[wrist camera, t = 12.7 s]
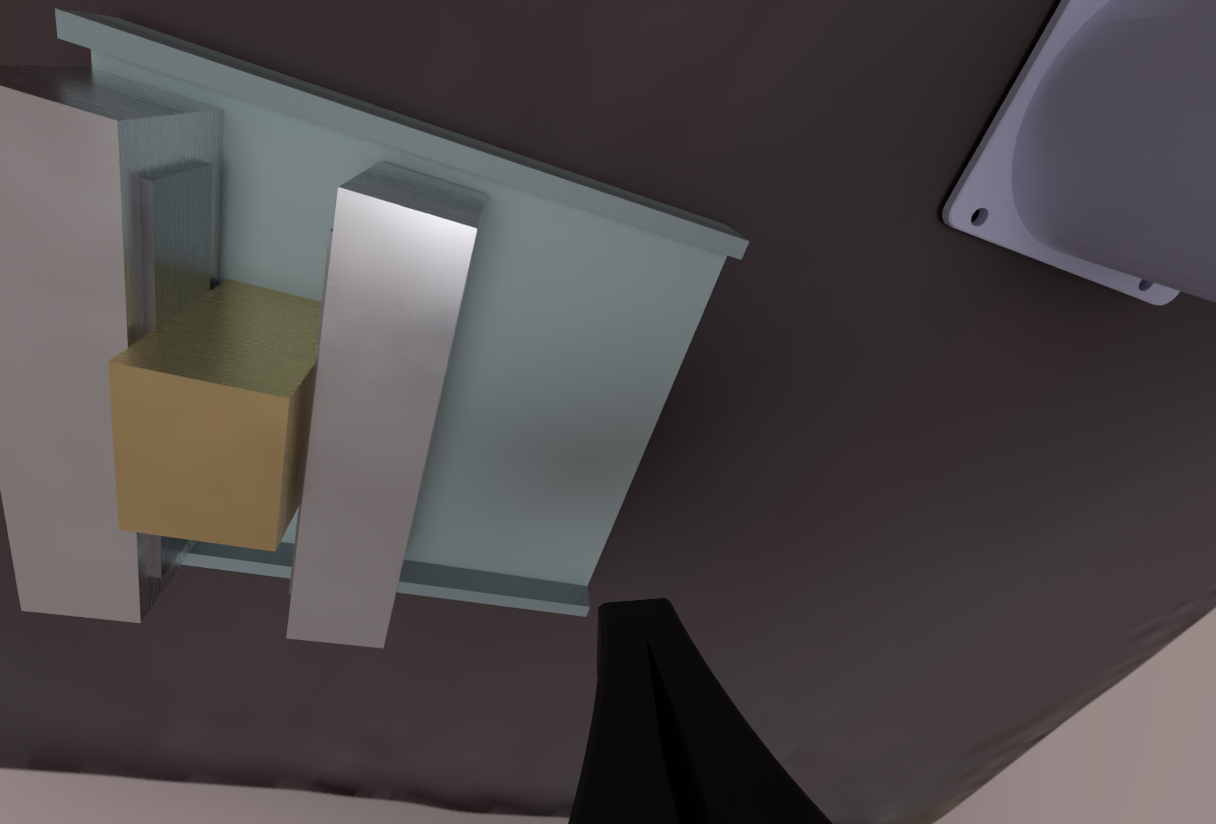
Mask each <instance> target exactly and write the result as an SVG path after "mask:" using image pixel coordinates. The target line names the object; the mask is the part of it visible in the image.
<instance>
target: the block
mask: <svg viewBox="0 0 1216 824" xmlns="http://www.w3.org/2000/svg"><path fill="white" fill-rule="evenodd" d="M320 311H321V302H320V301H316V300H312V299H307V298H303V297H299V296H295V295H291V294H287V293H283V292H279V291H275V290H271V289H267V288H263V287H259V286H255V285H251V284H247V283H243V282H239V281H235V280H231V279H227V280H225V281H224V282H223V283H221V284H220V285H218V286H217V287H215V288H214V289H212V290H211V291H210V292H208V293H207V294H205V295H204V296H202V297H201V298H199V299H198V300H196V301H195V302H194V303H192V304H191V305H189V306H188V307H186V308H185V309H183V310H182V311H181V312H179V313H178V314H176V315H175V316H173V317H172V318H170V319H169V320H168V321H166V322H165V323H163V324H162V325H160V326H159V327H157V328H156V329H154V330H153V331H152V332H150V333H149V334H147V335H146V336H144V337H143V338H141V339H140V340H139V341H137V342H136V343H134V344H133V345H131V346H130V347H128V348H127V349H126V350H124V351H123V352H121V353H120V354H118V355H117V356H115V357H114V358H112V359H111V360H110V361H108V367H109V383H110V399H111V414H112V430H113V446H114V462H115V477H116V493H117V509H118V525H119V530H124V531H131V532H138V533H145V534H152V535H159V536H166V537H174V538H181V539H188V540H195V541H202V542H209V543H217V544H224V545H231V546H238V547H245V548H252V549H260V550H267V551H274V552H275V551H276V549H277V547H278V545H279V544H280V542H281V540H282V538H283V536H284V534H285V532H286V530H287V528H288V526H289V524H290V522H291V520H292V518H293V516H294V514H295V513H296V511H297V509H298V507H299V499H300V490H301V481H302V472H303V463H304V454H305V445H306V436H307V427H308V418H309V409H310V401H311V392H312V383H313V374H314V365H315V356H316V347H317V338H318V329H319V320H320Z"/></svg>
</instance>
